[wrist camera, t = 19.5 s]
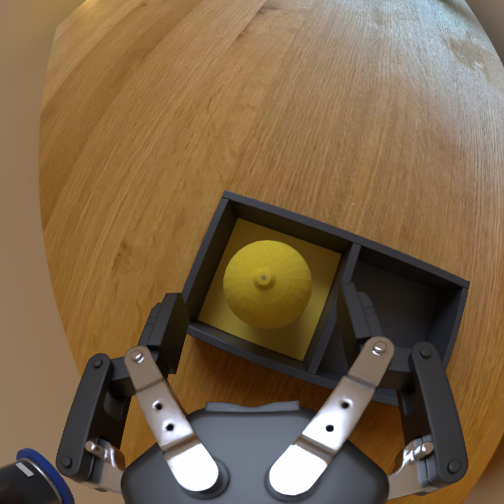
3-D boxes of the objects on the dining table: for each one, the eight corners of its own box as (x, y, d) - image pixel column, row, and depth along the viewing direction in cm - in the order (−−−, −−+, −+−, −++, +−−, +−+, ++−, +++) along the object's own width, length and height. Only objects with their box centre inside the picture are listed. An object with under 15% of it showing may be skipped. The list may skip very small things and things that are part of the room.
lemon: (321, 292, 21) (342, 281, 13) (267, 340, 21) (257, 356, 13) (273, 240, 22) (267, 202, 15) (221, 286, 22) (187, 273, 14)
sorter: (405, 397, 19) (427, 413, 15) (190, 323, 22) (168, 325, 18) (442, 287, 21) (470, 281, 16) (235, 211, 24) (224, 189, 20)
